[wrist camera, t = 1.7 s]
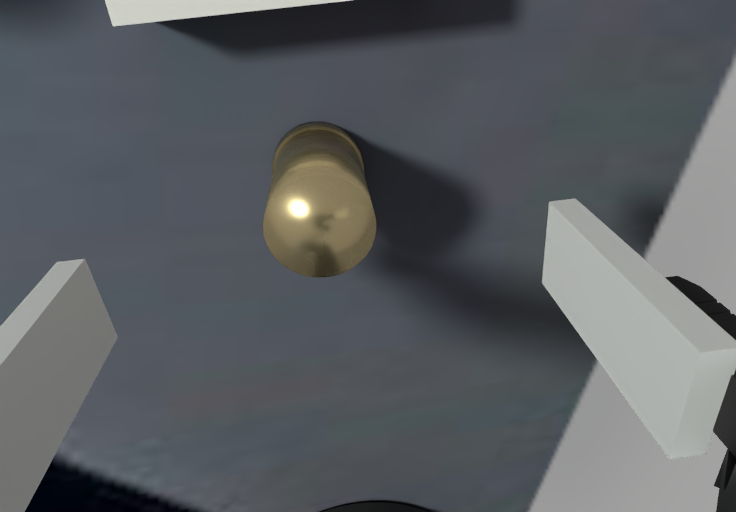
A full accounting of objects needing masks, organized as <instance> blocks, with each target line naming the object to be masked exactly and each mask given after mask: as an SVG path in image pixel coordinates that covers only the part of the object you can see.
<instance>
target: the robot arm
mask: <svg viewBox="0 0 736 512" xmlns="http://www.w3.org/2000/svg"><path fill="white" fill-rule="evenodd" d="M542 284H543V285H544V286H545V288H546V289H547V291H548V292H549V293H550V295H551V296H552V298H553V299H554V300H555V302H556V303H557V304H558V306H559V307H560V309H561V310H562V311H563V313H564V314H565V316H566V317H567V318H568V320H569V321H570V322H571V324H572V325H573V327H574V328H575V329H576V331H577V332H578V334H579V335H580V336H581V338H582V339H583V340H584V342H585V343H586V345H587V346H588V347H589V349H590V350H591V352H592V353H593V354H594V356H595V357H596V358H597V360H598V361H599V363H600V364H601V365H602V367H603V368H604V370H605V371H606V372H607V374H608V375H609V377H610V378H611V379H612V381H613V382H614V383H615V385H616V386H617V388H618V389H619V390H620V392H621V393H622V394H623V396H624V397H625V399H626V400H627V401H628V403H629V404H630V406H631V407H632V408H633V410H634V411H635V413H636V414H637V415H638V417H639V418H640V419H641V421H642V422H643V424H644V425H645V426H646V428H647V429H648V431H649V432H650V433H651V435H652V436H653V437H654V439H655V440H656V442H657V443H658V444H659V446H660V447H661V449H662V450H663V451H664V453H665V454H666V456H667V457H668V458H669V459H675V458H683V457H690V456H697V455H704V454H707V451H708V448H709V445H710V442H711V440H712V437H713V434H714V433H715V434H716V435H717V436H718V438H719V439H720V440H721V441H722V442H723V443H724V445H725V446H726V447H727V448H728V449H727V452H726V455H725V457H724V460H723V463H722V465H721V468H720V471H719V474H718V476H717V479H716V482H715V484H714V486H716V487H718V488H720V489H719V496H718V503H717V510H716V512H736V316H735V315H734V314H731V313H730V310H728V309H727V308H726V307H724V306H723V305H722V304H721V303H717V300H716V299H715V298H714V297H713V296H711V295H710V294H709V293H708V292H706V291H705V290H704V289H703V288H702V287H700V286H698V285H696V284H694V283H692V282H690V281H688V280H685V279H683V278H681V277H679V276H674V277H666V278H665V277H663V276H662V275H661V274H660V273H659V272H658V271H657V270H656V269H654V268H653V267H652V266H651V265H649V263H648V262H647V261H645V260H644V259H643V258H642V257H641V256H640V255H639V254H638V253H636V252H635V251H634V250H633V249H632V248H631V247H630V246H629V245H627V244H626V243H625V242H624V241H623V240H622V239H621V238H619V237H618V236H617V235H616V234H615V233H614V232H613V231H612V230H610V229H609V228H608V227H607V226H606V225H605V224H604V223H603V222H601V221H600V220H599V219H598V218H597V217H596V216H595V215H593V214H592V213H591V212H590V211H589V210H588V209H587V208H586V207H584V206H583V205H582V204H581V203H580V202H579V201H578V200H576V199H568V200H560V201H552V202H549V209H548V221H547V232H546V243H545V254H544V265H543V277H542ZM117 338H118V337H117V334H116V332H115V329H114V327H113V325H112V322H111V320H110V318H109V315H108V313H107V310H106V308H105V306H104V303H103V301H102V299H101V296H100V294H99V291H98V289H97V287H96V284H95V282H94V280H93V277H92V275H91V272H90V270H89V268H88V265H87V263H86V261H85V259H79V260H71V261H63V262H57V263H56V264H55V265H54V266H53V267H52V268H51V269H50V271H49V272H48V273H47V274H46V275H45V276H44V277H43V279H42V280H41V281H40V282H39V283H38V284H37V285H36V287H35V288H34V289H33V290H32V291H31V292H30V293H29V294H28V296H27V297H26V298H25V299H24V300H23V301H22V302H21V304H20V305H19V306H18V307H17V308H16V309H15V310H14V312H13V313H12V314H11V315H10V316H9V317H8V318H7V320H6V321H5V322H4V323H3V324H2V325H1V326H0V512H25V510H26V508H27V506H28V504H29V502H30V500H31V499H32V497H33V495H34V493H35V491H36V489H37V487H38V485H39V484H40V482H41V480H42V478H43V476H44V474H45V472H46V471H47V469H48V467H49V465H50V463H51V461H52V459H53V457H54V456H55V454H56V452H57V450H58V448H59V446H60V444H61V442H62V441H63V439H64V437H65V435H66V433H67V431H68V429H69V427H70V426H71V424H72V422H73V420H74V418H75V416H76V414H77V412H78V411H79V409H80V407H81V405H82V403H83V401H84V399H85V398H86V396H87V394H88V392H89V390H90V388H91V386H92V384H93V383H94V381H95V379H96V377H97V375H98V373H99V371H100V369H101V368H102V366H103V364H104V362H105V360H106V358H107V356H108V354H109V353H110V351H111V349H112V347H113V345H114V343H115V341H116V339H117ZM323 512H426V511H424V510H421V509H418V508H415V507H411V506H407V505H402V504H395V503H382V502H371V503H358V504H351V505H345V506H340V507H336V508H333V509H329V510H326V511H323Z"/></svg>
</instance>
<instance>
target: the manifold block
mask: <svg viewBox="0 0 736 512" xmlns="http://www.w3.org/2000/svg"><path fill="white" fill-rule="evenodd" d="M342 1H351V0H105V2H106V6H107V9H108V12H109V15H110V19H111V22H112V25H113V26H121V25H130V24H139V23H149V22H158V21H167V20H176V19H186V18H195V17H204V16H213V15H222V14H232V13H241V12H250V11H259V10H268V9H278V8H287V7H296V6H305V5H315V4H324V3H333V2H342Z"/></svg>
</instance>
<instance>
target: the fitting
mask: <svg viewBox="0 0 736 512" xmlns="http://www.w3.org/2000/svg"><path fill="white" fill-rule="evenodd" d="M263 231H264V237H265V241H266V243H267V246H268V248H269V250H270V251H271V253H272V254H273V256H274V257H275V258H276V259H277V260H278V261H279V262H280V263H281V264H282V265H284V266H285V267H286V268H288V269H290V270H292V271H293V272H296V273H298V274H301V275H305V276H310V277H329V276H335V275H338V274H341V273H344V272H346V271H348V270H350V269H351V268H353V267H354V266H356V265H357V264H358V263H360V262H361V261H362V260H363V259H364V257H365V256H366V255H367V254H368V252H369V250H370V249H371V247H372V244H373V242H374V239H375V235H376V218H375V213H374V209H373V206H372V202H371V198H370V194H369V191H368V187H367V183H366V179H365V176H364V165H363V160H362V156H361V153H360V150H359V148H358V146H357V144H356V142H355V141H354V139H353V138H352V137H351V136H350V135H349V134H348V133H347V132H346V131H345V130H343V129H342V128H340V127H338V126H336V125H333V124H331V123H326V122H308V123H304V124H301V125H299V126H297V127H295V128H293V129H292V130H290V131H289V132H288V133H287V134H285V136H284V137H283V138H282V139H281V141H280V142H279V144H278V146H277V148H276V151H275V154H274V158H273V164H272V180H271V185H270V190H269V195H268V200H267V205H266V210H265V215H264V221H263Z"/></svg>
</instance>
